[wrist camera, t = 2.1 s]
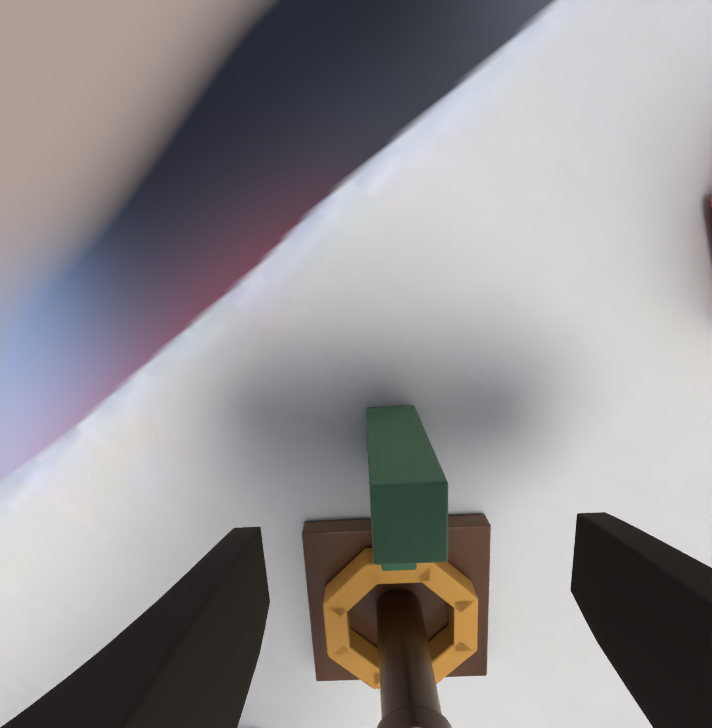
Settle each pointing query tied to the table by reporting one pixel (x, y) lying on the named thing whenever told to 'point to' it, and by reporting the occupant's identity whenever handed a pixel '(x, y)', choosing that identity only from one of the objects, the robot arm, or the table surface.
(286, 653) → the table surface
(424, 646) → the peg stand
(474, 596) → the octagonal ring with handle
